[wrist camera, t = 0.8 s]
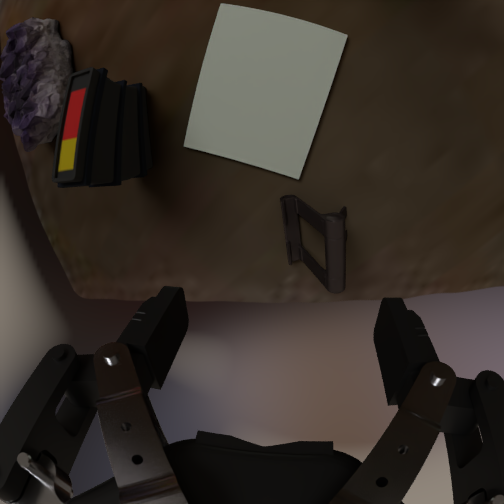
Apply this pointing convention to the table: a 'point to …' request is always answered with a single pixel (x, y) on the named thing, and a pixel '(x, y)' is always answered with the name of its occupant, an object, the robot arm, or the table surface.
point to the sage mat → (263, 88)
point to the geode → (35, 79)
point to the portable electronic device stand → (334, 241)
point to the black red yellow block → (101, 132)
